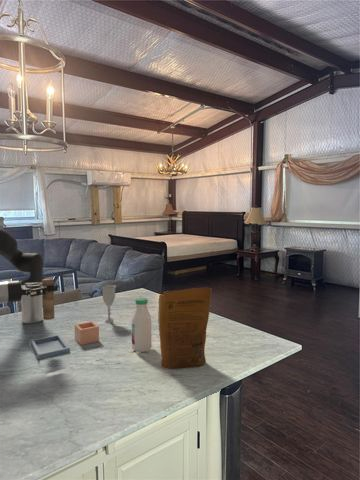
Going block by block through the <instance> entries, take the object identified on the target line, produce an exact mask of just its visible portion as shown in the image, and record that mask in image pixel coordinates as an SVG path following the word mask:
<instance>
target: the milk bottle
mask: <svg viewBox="0 0 360 480" xmlns="http://www.w3.org/2000/svg"><path fill="white" fill-rule="evenodd" d="M135 307H136V308H135V310H134V313H133V314H132V318H131V348H132V349H133V352H136V353H145V352H146V353H147V352H148V351H151V349H152V316H151V314H150V312H149V309H148V298H147V297H138V298H135Z"/></svg>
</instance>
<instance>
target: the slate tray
mask: <svg viewBox="0 0 360 480" xmlns="http://www.w3.org/2000/svg"><path fill="white" fill-rule="evenodd" d="M30 347H31V349H32V351H33V353H34V355H35V356H36V358H37V361H38V362H40V359H44V358H49V357H54V356H58V355H61V354H66V353H70V352H71V347H70V346H69V345H68V344H67V342H66V341H65V340H64V338H63V337H62V335H60V334H55V335H49V336H44V337H40V338H34V339H30Z"/></svg>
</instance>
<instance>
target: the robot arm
mask: <svg viewBox="0 0 360 480" xmlns="http://www.w3.org/2000/svg"><path fill="white" fill-rule="evenodd" d="M0 255H1V257H2V258H4V259H6V260H7V261H9V263H11V265H12V266H13V267H15V269H17V270H18V271H19V272H22V273H29V277H28V278H25V279H22V280H21V281H20V280H17V279H16V280H9V281H0V304H1V305H2V304H6V303H7V304H8V303H15V302H21V322H22V323H23V324H37V323H39V322H41V321H43V320H44V319H43V296H42V295H43V294H46V293H47V292H51V291H54V292H56V291H58V290H59V289H58V285H57V284H56V283H54V282H53V285H50V286H42V280H43V279H44V278H43V277H44V275H43V274H44V273H43V272H44V271H43V269H44V260H43V256H42V255H41V254H40V253H38V252H37V253H36V252H32V253H31V252H23V251H21V250H20V249H18V241H17V239H16V238H15V237H14V236H13V235H12V234H11V233H10V232H8V231H7V230H5V229H3V228H1V227H0ZM42 289H43V291H42Z"/></svg>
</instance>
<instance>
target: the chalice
mask: <svg viewBox="0 0 360 480" xmlns="http://www.w3.org/2000/svg"><path fill="white" fill-rule="evenodd" d="M116 288H117V285H115V284H106V285H102V286H101V290H102V300H103V302H104V304H105V306H106V307H107V318H106V319H104V323H105V324H112V323H114V319H113V318H112V317H111V314H112V313H111V306H112V305H113V304H114V300H115V298H116Z"/></svg>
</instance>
